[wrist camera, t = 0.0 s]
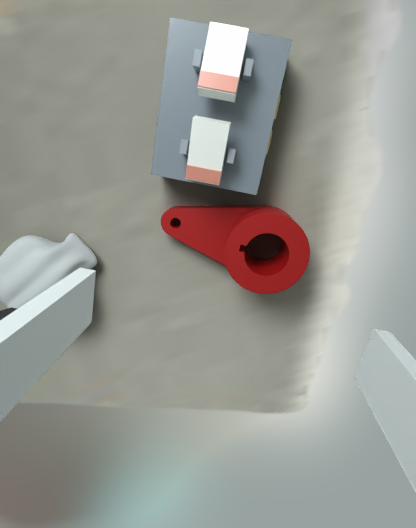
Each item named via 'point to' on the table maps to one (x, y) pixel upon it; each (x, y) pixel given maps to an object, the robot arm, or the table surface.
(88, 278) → the robot arm
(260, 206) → the lever
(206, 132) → the rocker
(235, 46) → the rocker
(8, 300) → the shell shaped sculpture
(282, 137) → the table surface
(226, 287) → the table surface
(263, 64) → the panel
